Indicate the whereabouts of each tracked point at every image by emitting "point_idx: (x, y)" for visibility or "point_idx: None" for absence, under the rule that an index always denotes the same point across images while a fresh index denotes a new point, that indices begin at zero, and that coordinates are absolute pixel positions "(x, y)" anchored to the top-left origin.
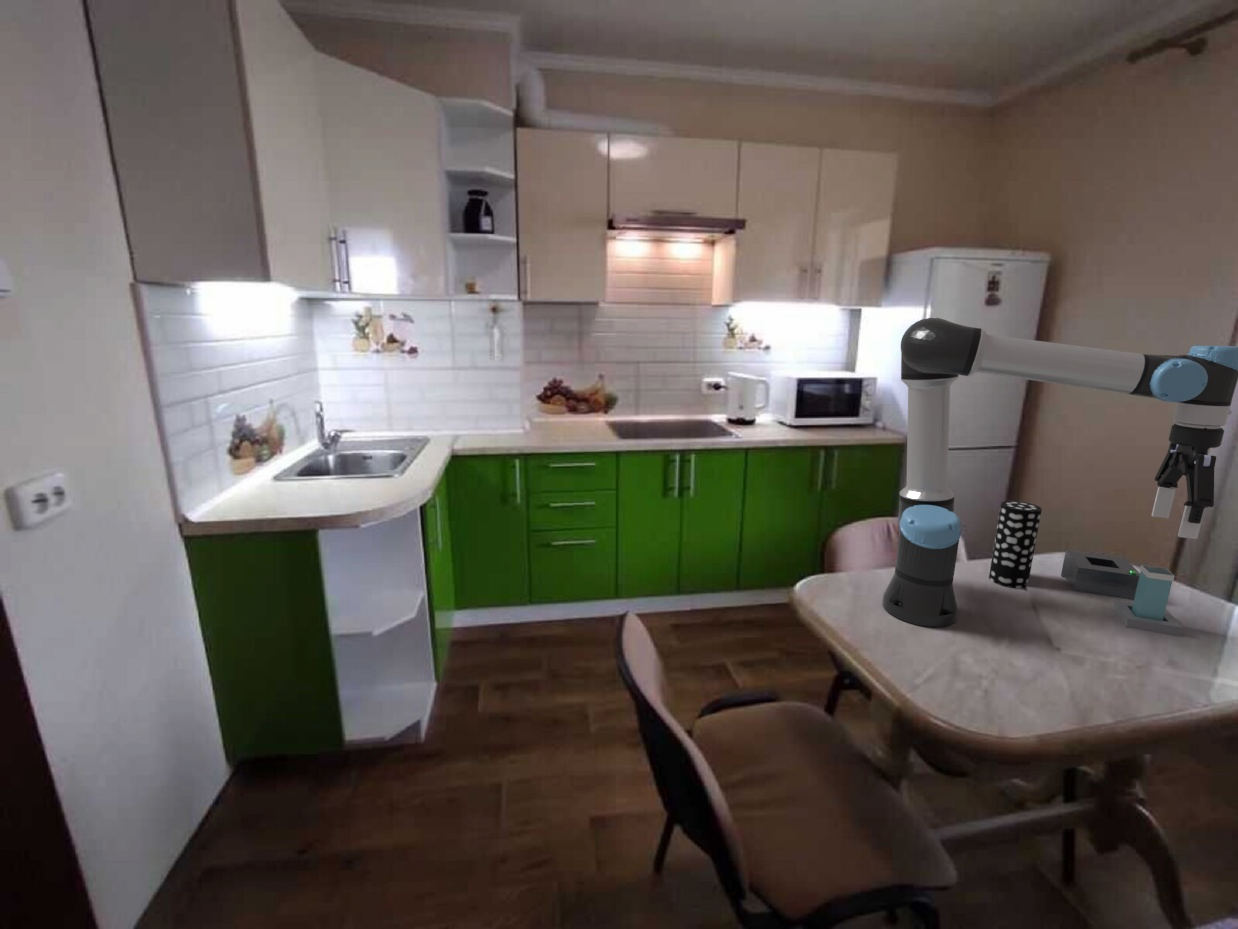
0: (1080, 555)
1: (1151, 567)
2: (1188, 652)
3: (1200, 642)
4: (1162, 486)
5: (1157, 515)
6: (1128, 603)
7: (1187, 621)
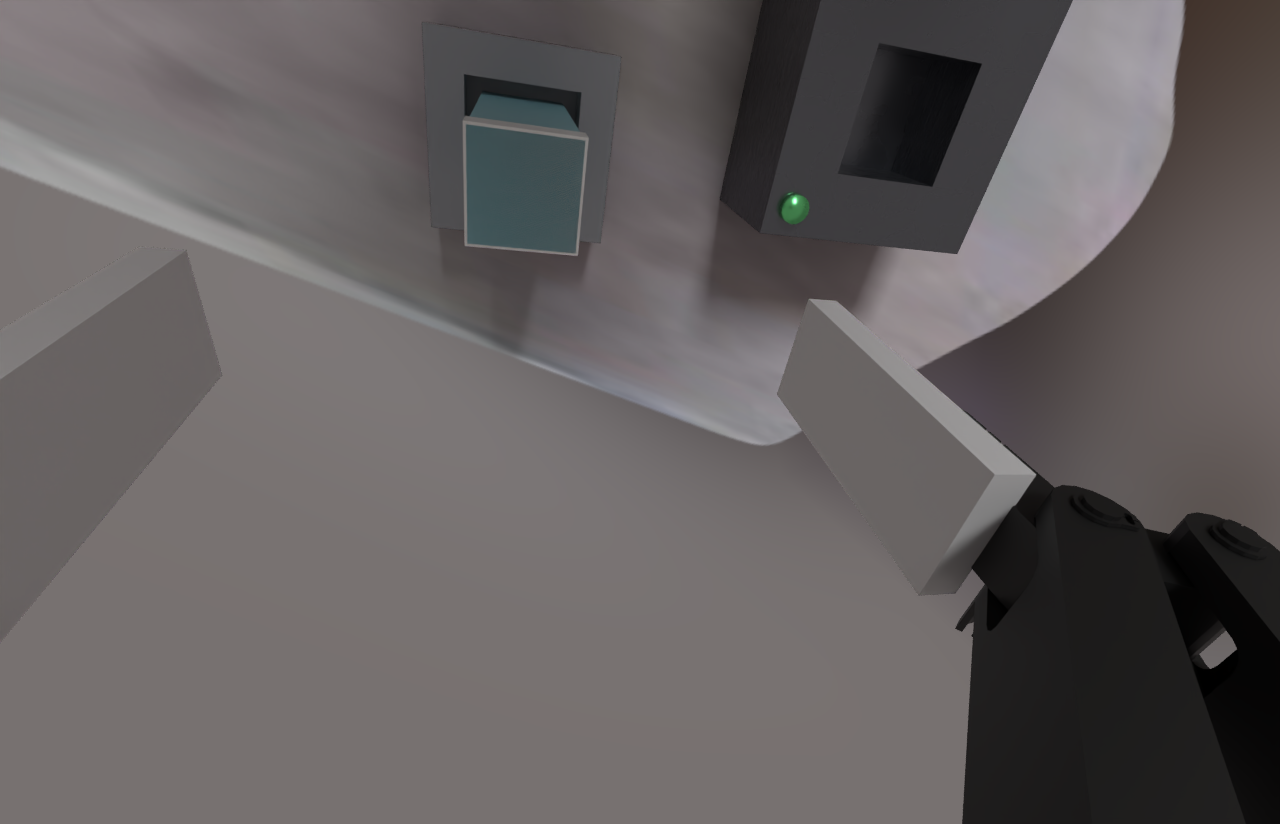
0: (997, 43)
1: (563, 180)
2: (345, 197)
3: (459, 273)
4: (1021, 517)
5: (806, 334)
6: (607, 112)
7: (620, 305)
